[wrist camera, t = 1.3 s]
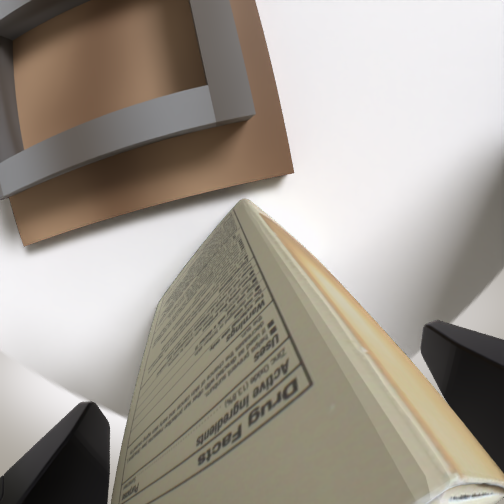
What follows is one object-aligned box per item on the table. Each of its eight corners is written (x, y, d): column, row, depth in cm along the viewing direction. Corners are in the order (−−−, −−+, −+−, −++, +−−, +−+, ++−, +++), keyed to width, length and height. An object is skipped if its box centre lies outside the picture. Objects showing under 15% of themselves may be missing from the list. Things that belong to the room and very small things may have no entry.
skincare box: (230, 350, 15) (266, 611, 3) (155, 301, 14) (89, 593, 2) (322, 252, 14) (525, 490, 2) (247, 187, 12) (471, 501, 1)
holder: (231, -64, 8) (236, -101, 5) (289, 171, 12) (311, 179, 10) (-1, 20, 8) (-34, 6, 5) (32, 241, 12) (-3, 264, 9)
